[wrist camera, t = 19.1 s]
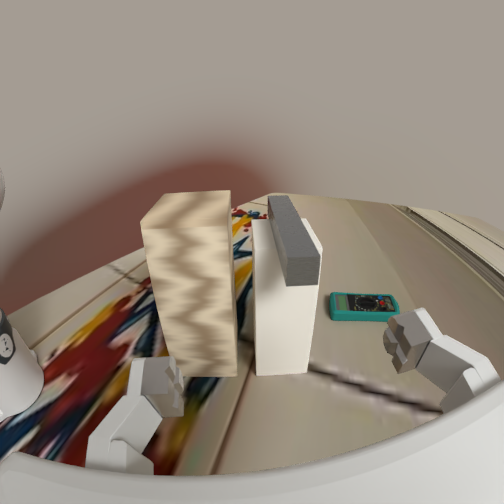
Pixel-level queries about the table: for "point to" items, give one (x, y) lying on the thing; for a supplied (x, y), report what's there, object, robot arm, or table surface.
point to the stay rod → (293, 243)
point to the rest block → (280, 308)
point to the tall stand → (194, 280)
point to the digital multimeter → (362, 307)
